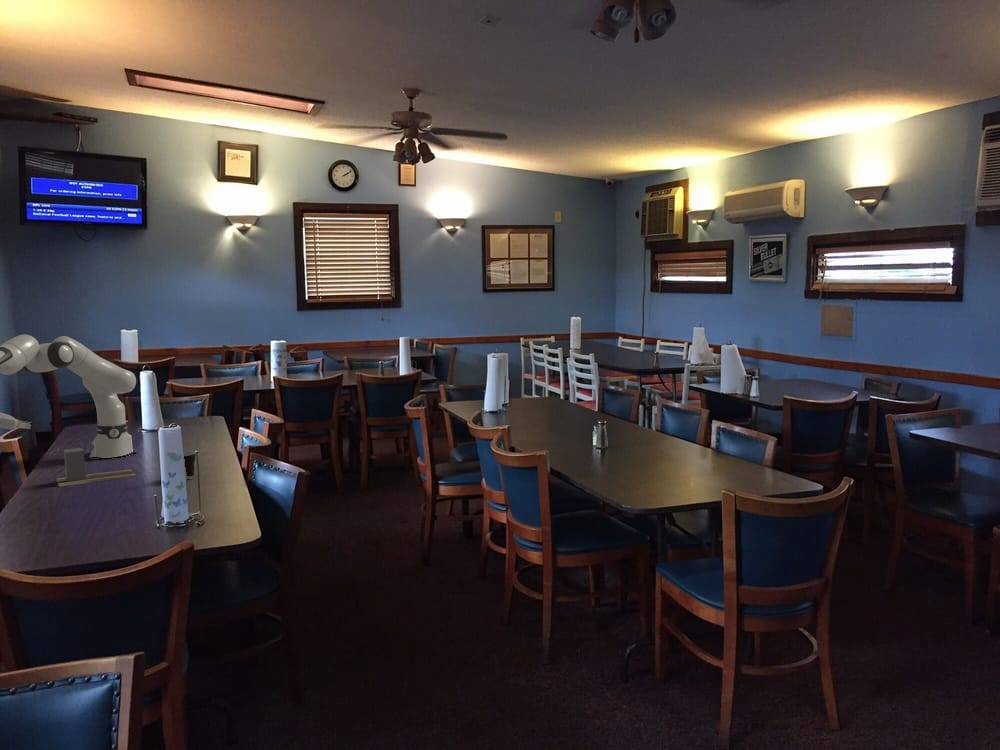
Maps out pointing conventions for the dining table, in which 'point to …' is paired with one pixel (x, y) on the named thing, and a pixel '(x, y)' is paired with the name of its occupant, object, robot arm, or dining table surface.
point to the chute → (98, 478)
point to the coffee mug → (189, 462)
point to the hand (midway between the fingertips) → (28, 425)
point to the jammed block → (74, 464)
